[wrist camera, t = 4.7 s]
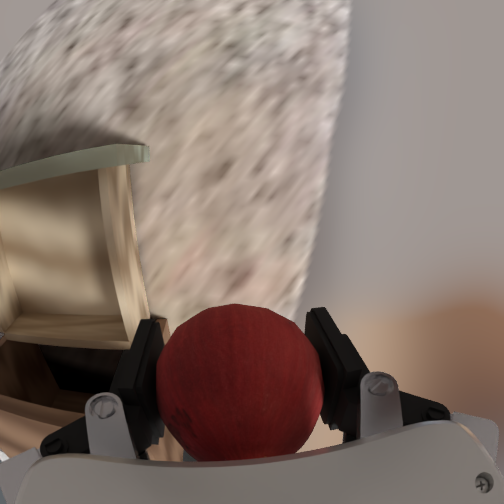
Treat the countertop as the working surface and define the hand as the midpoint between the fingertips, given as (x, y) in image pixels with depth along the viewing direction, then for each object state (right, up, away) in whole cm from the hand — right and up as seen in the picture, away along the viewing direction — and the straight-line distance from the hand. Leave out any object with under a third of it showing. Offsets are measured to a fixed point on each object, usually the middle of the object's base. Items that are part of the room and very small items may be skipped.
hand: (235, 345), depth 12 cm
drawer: (-16, +5, +10) cm, 20 cm away
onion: (0, +1, +2) cm, 2 cm away
